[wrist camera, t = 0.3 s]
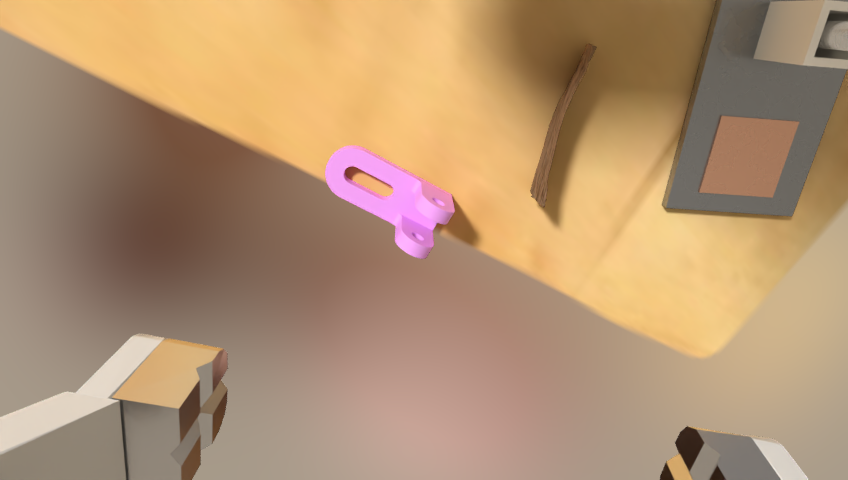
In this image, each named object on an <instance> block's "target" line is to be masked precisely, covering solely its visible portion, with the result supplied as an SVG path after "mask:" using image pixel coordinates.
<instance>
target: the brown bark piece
mask: <svg viewBox="0 0 848 480" xmlns="http://www.w3.org/2000/svg"><path fill="white" fill-rule="evenodd" d="M595 50H596V47H595V46H592V45H591V44H587V45H586V48H585V52H584V54H583V55H582V57H581V61H580V63H579V65H578V67H577V69H576V71H575V73H574V74H573V76H572V78H571V80H570V82H569V84H568V86H567V88H566V90H565V92H564V94H563V96H562V98H561V100H560V101H559V103H558V106H557V108H556V110H555V113H554V115H553V118H552V120H551V123H550V125H549V129H548V132H547V136H546V139H545V143H544V147H543V150H542V154H541V157H540V160H539V163H538V167H537V169H536V173H535V177H534V180H533V183H532V187H531V194H532V196H531V197H533V198H535V199H536V201H537V202H538V203H539V204H540V205H541V206H542V207H545V201H546V196H547V190H548V189H547V181H548V175H549V171H550V167H551V164H552V160H553V156H554V151H555V147H556V142H557V138H558V134H559V131H560V128H561V125H562V122H563V119H564V116H565V113H566V110H567V108H568V106H569V104H570V102H571V99H572V97H573V95H574V93H575V91H576V89H577V87H578V85H579V83H580V81H581V80H582V78H583V76H584V75H585V73H586V71H587V67H588V63H589V62H590V60H591V58H592V56H593V54H594V52H595Z"/></svg>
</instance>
